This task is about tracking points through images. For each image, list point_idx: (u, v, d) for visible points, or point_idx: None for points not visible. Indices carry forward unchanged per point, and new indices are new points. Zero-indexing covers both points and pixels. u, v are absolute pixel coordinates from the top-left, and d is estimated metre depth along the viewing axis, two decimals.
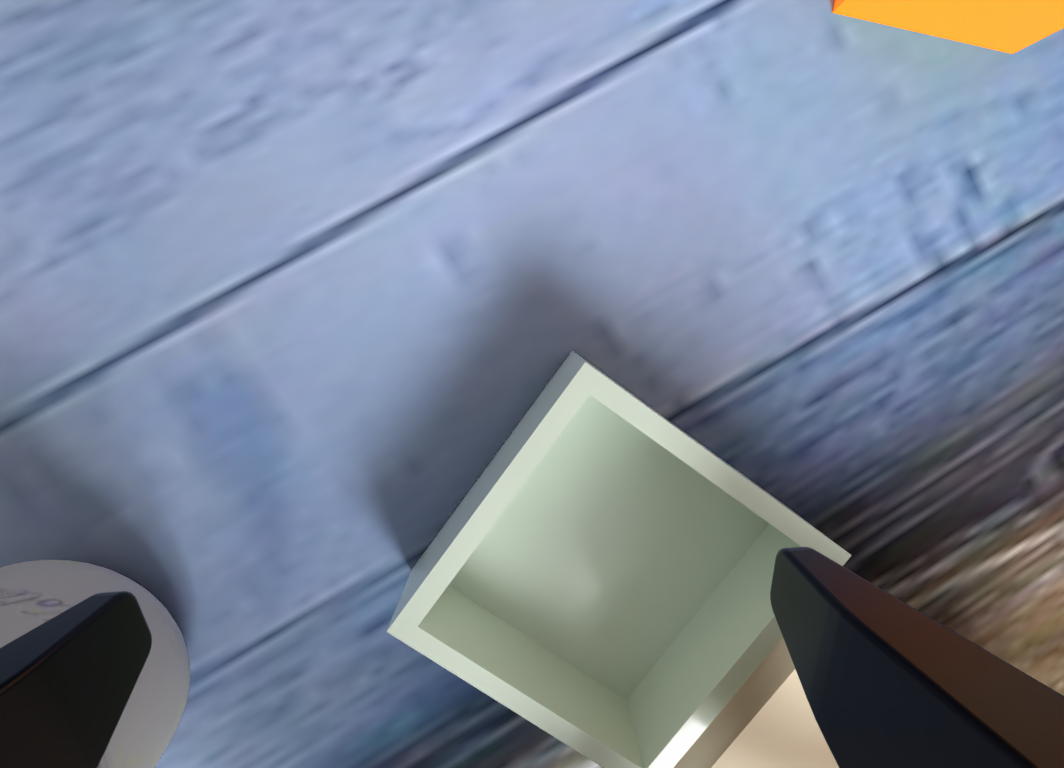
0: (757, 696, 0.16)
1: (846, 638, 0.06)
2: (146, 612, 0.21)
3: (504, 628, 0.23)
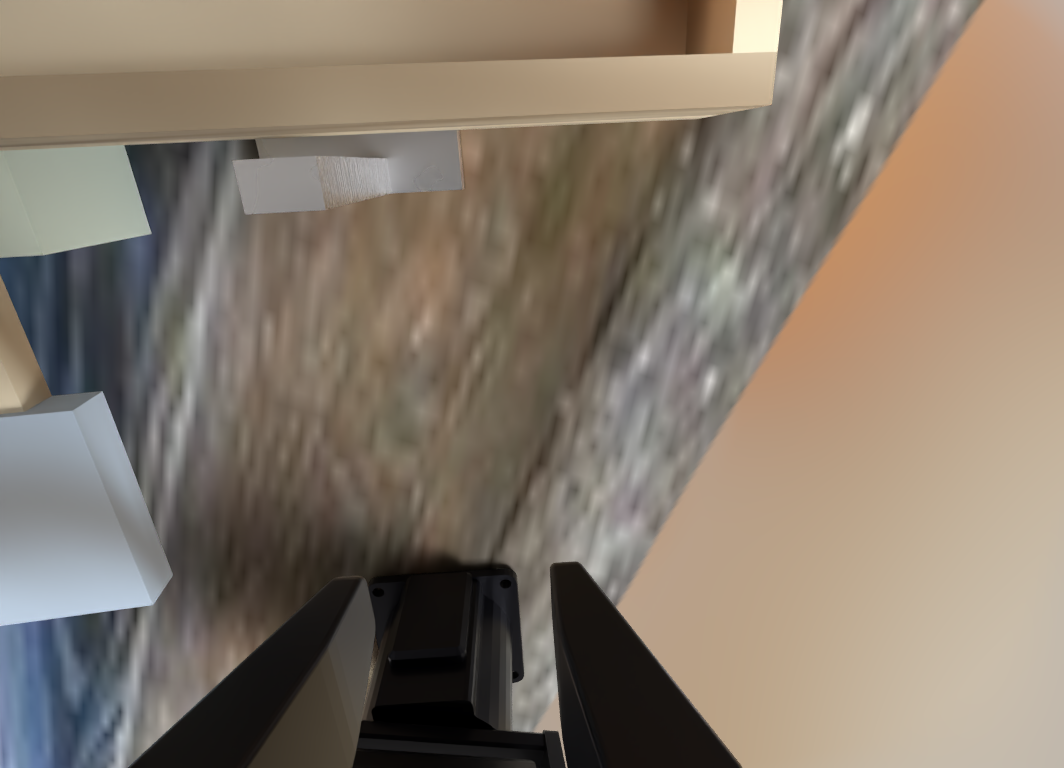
0: None
1: (561, 657, 0.06)
2: None
3: None
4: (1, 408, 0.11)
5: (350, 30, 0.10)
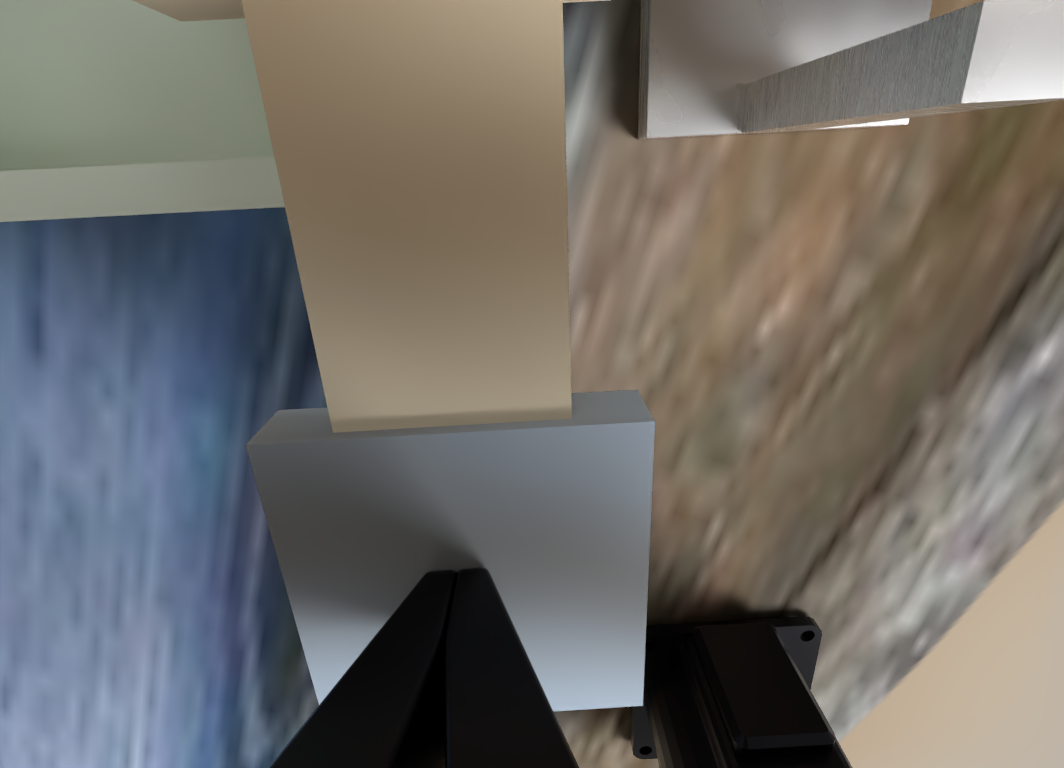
0: None
1: None
2: None
3: None
4: (543, 412, 0.07)
5: None
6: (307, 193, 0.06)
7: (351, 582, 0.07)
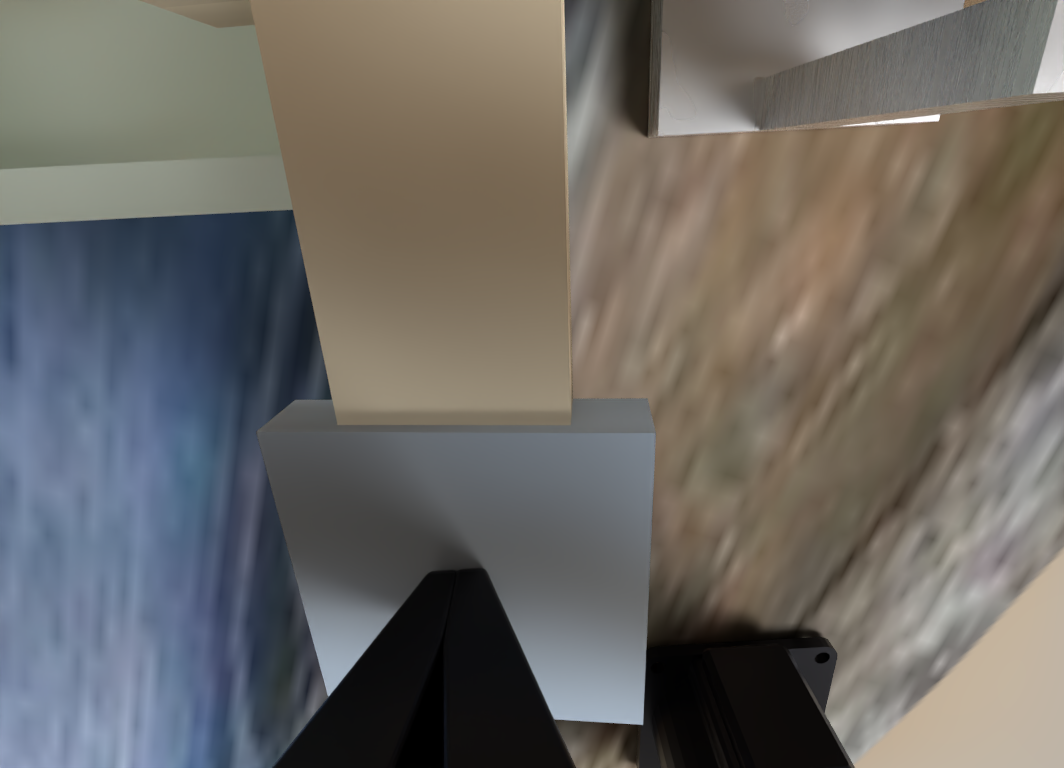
0: None
1: None
2: None
3: None
4: (541, 417, 0.07)
5: None
6: (312, 192, 0.06)
7: (353, 571, 0.08)
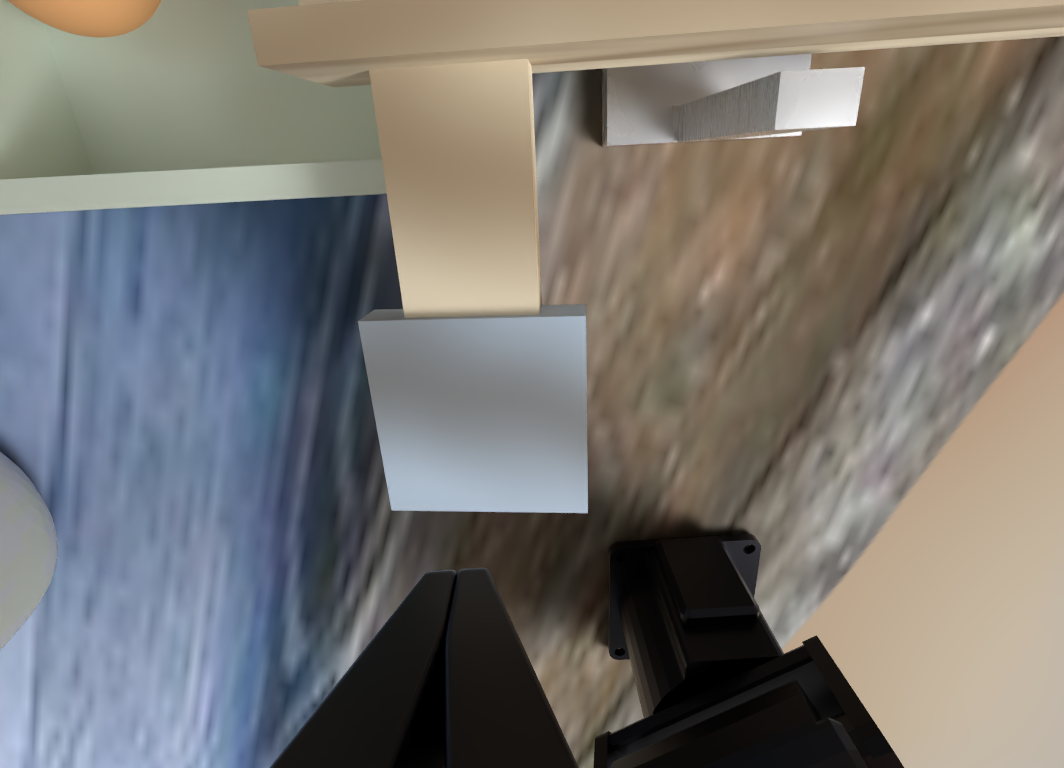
0: None
1: None
2: None
3: None
4: (522, 309, 0.12)
5: None
6: (397, 182, 0.11)
7: (411, 411, 0.13)
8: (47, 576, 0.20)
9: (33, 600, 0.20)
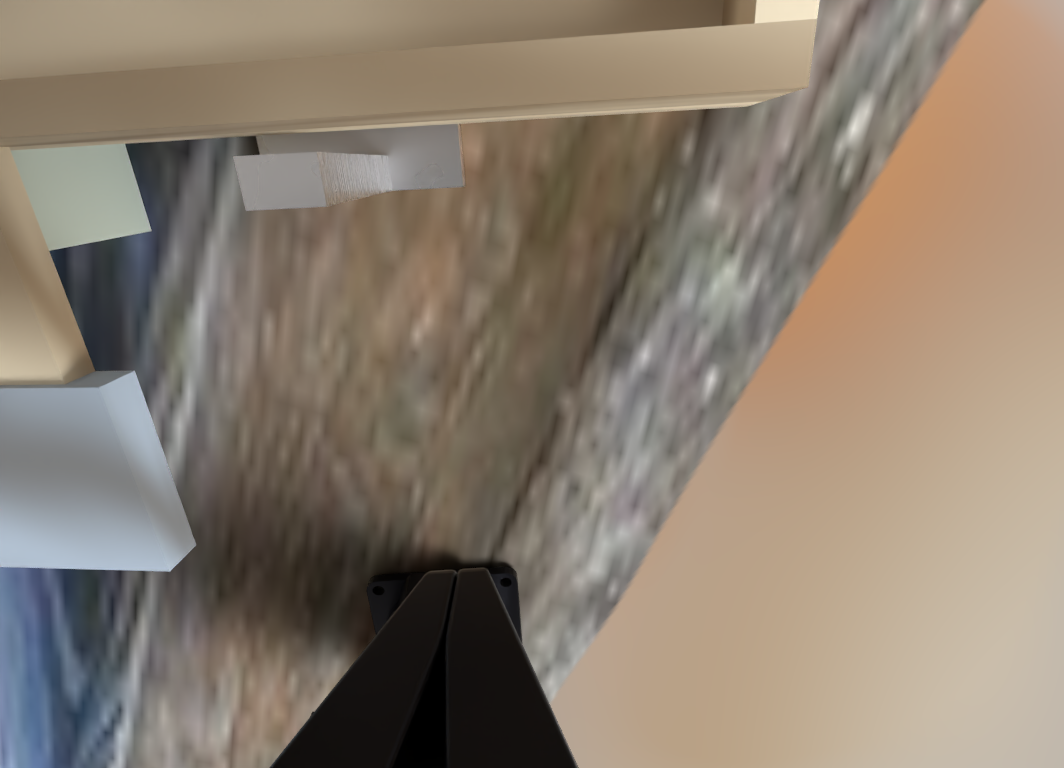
0: None
1: None
2: None
3: None
4: (47, 379, 0.12)
5: (345, 19, 0.09)
6: None
7: None
8: None
9: None
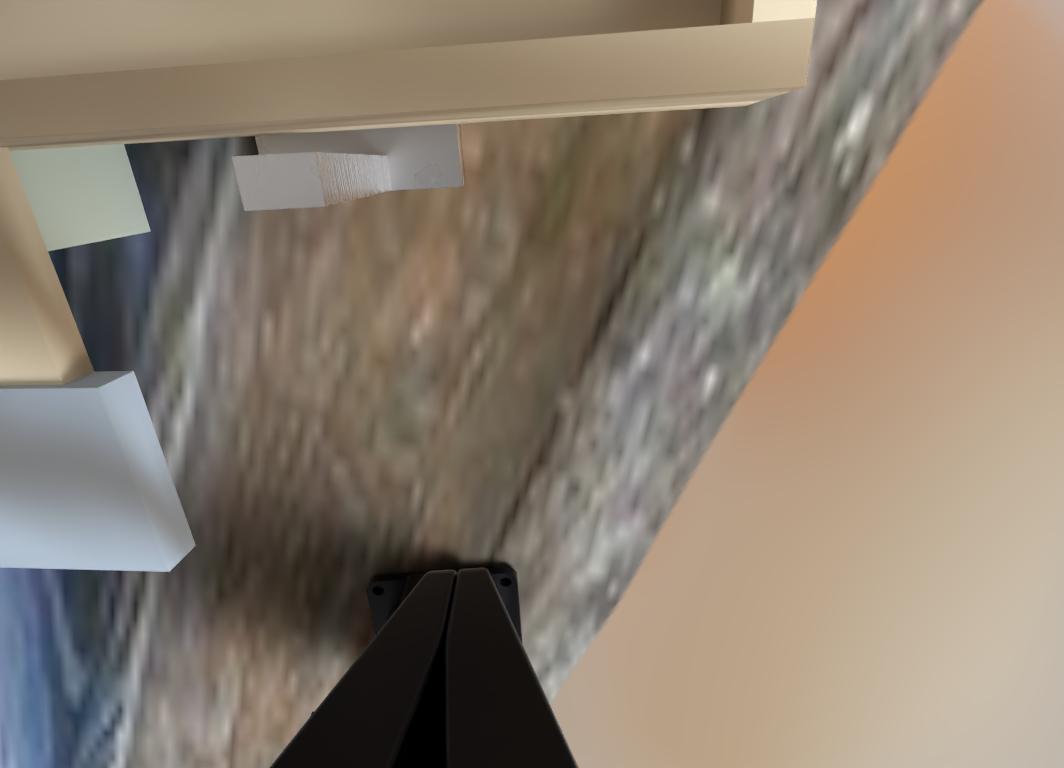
0: None
1: None
2: None
3: None
4: (46, 380, 0.12)
5: (342, 19, 0.09)
6: None
7: None
8: None
9: None
